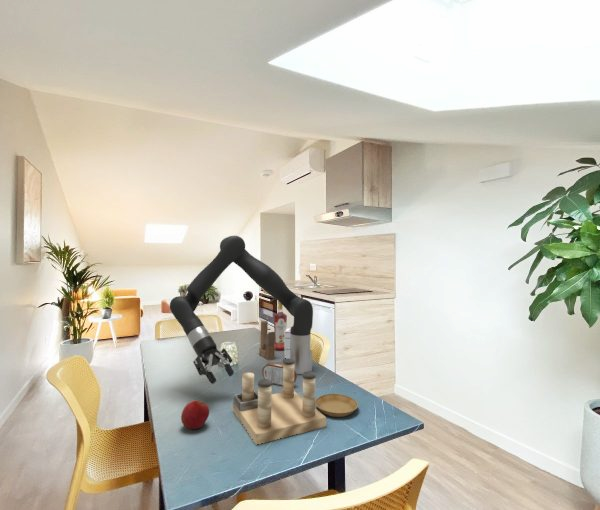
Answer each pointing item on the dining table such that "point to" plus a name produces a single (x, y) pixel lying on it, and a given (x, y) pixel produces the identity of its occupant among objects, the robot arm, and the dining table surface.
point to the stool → (280, 408)
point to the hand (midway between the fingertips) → (223, 378)
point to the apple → (194, 414)
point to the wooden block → (267, 342)
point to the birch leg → (247, 387)
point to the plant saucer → (336, 405)
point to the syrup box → (287, 343)
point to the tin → (275, 373)
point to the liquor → (279, 327)
